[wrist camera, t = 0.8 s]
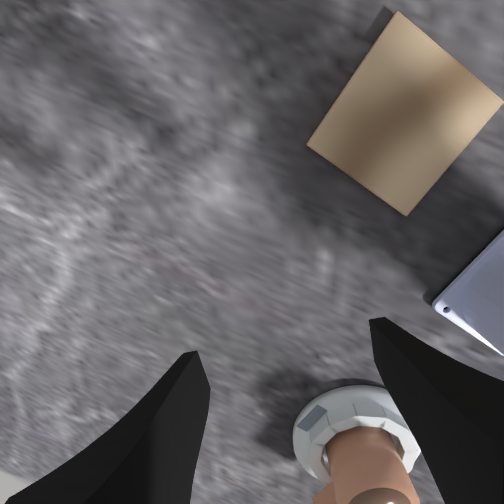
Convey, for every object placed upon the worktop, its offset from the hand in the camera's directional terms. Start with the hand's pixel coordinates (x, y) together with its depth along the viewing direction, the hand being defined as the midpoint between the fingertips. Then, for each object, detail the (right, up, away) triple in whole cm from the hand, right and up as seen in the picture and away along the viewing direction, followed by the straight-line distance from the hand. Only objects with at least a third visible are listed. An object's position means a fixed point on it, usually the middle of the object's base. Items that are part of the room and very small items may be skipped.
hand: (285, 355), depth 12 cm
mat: (+8, +12, +6) cm, 15 cm away
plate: (+8, -12, +14) cm, 20 cm away
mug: (+7, -13, +14) cm, 20 cm away
